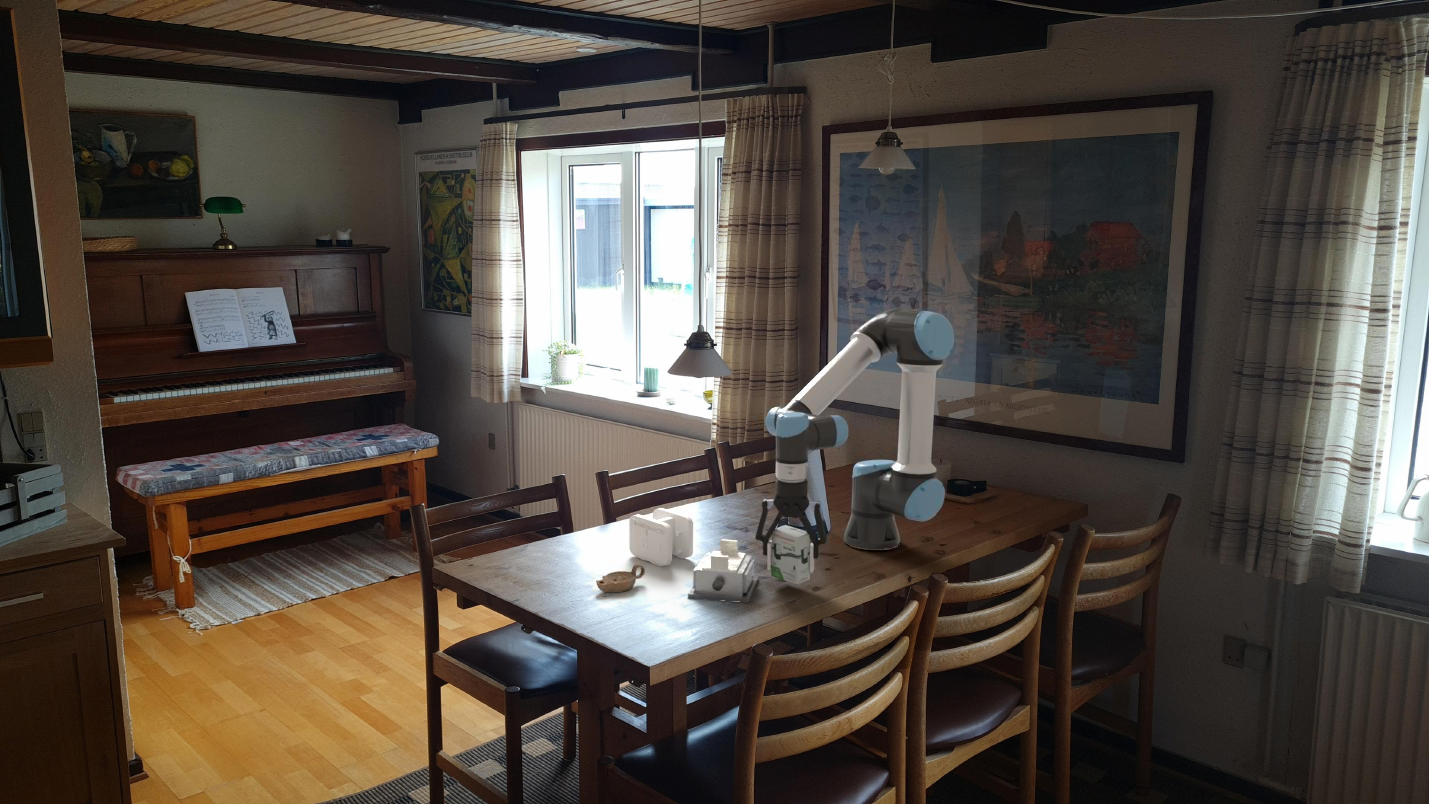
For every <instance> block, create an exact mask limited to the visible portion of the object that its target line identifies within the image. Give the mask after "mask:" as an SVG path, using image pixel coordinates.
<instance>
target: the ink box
mask: <svg viewBox="0 0 1429 804" xmlns="http://www.w3.org/2000/svg"><path fill="white" fill-rule="evenodd" d="M771 541H772V560H771V561H772V562H771V570H770V574H771V577H774V578H776V579H780V580H783V581H785V582H788V583H791V584H794V585H800V584H802V583H805V582H807V581H810V580H811V573H810V545H811V543H812V541H811V539H810V537H809V535H808V534H807V532H806V530H805V529H800V528H797V527H793V526H792V525H791V526H790V525H786V524H784V525H781V526H779V527H778V526H777V527H776V528H775V530H774V532H773V533H772V535H771Z"/></svg>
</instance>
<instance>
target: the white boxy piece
mask: <svg viewBox="0 0 1429 804" xmlns="http://www.w3.org/2000/svg"><path fill="white" fill-rule="evenodd" d="M738 546H739V545H738V540H737V539H735V540H734V539H723V538H721V539H720V550H712V552H709V551H708V552H706V554H705V555H702V557H701V558H700V559H699V561H698V563H697V565H696V566H695V568H694V569H693V571H692V573H693V574H692V577H693V578H692V579H693V580H692V581H693V582H692V585H693V586H692V587H691V588H690V590H689V592H688V593H687V599H693V600H703V599H707V600H706V601H715V600H725V601H724V602H727V601H740V602H748V603H749V601H750V599H749V598H751V597H752V594H753V592H754V590H755V588H754V587H756V586H755V585H757V584H758V581H759V575H755V559H752V555H746V552H740V551H739V552H738ZM757 580H758V581H757ZM753 589H754V590H753ZM752 591H753V592H752ZM751 593H752V594H751ZM750 596H751V597H750ZM748 600H749V601H748Z"/></svg>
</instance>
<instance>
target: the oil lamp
mask: <svg viewBox="0 0 1429 804" xmlns="http://www.w3.org/2000/svg"><path fill="white" fill-rule="evenodd" d="M644 566H645V565H642V564H640V563H637V564H635V565H633V566H632V568H631V570H630V571H625V570H623V571H622V570H621V571H619V570H618V571H617V570H616V571H613V572H610V573H609V572H608V573H607V574H606V575H602V577H601V578H602V579H600V580H599V579H598V580H596V581H595V582H596V586H597V588H598V589H599V590H600V591H601V592H604V593H620V592H627V591H629V590H631V589H632V588H633V587H634V586H635V584H636V580H640V579H641V578H643V577H644V575H645V574H646V568H645V567H644ZM639 568H640V573H639V574H638V575H637V570H638V569H639Z"/></svg>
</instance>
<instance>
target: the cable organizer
mask: <svg viewBox="0 0 1429 804" xmlns="http://www.w3.org/2000/svg"><path fill="white" fill-rule="evenodd" d="M628 526H629V532H628V533H629V538H628V539H629V542H628V543H629V552H630V553H631V554H632V555H633V556H634V557H636V558H637V559H639V558H640V559H639V560H642V561H648V562H650V563H652V564H653V565H655V566H659V567H665V566H669V565H670V564H672V562H673V555H674V556H675V557H677V558H678V559H679V558H680V559H681V560H685V559H687V558H691V557H692V556H693V553H694V521H693V518H691V517H690V516H689V515H687V514H684V513H683V514H682V513H680V512H677V511H674V510H670V509H666V508H663V507H659V508H656V509H654V510H653V512H652V517H648V516H645V515H642V514H638V513H637V514H635V515H631V516H630V517H629V525H628Z"/></svg>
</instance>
